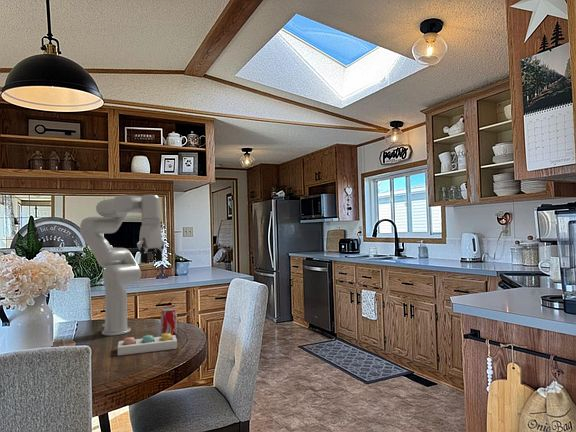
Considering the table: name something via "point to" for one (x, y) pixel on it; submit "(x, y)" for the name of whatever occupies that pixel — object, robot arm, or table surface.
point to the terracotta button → (129, 340)
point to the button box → (147, 346)
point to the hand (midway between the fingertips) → (151, 261)
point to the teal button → (147, 338)
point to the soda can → (169, 321)
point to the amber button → (165, 336)
